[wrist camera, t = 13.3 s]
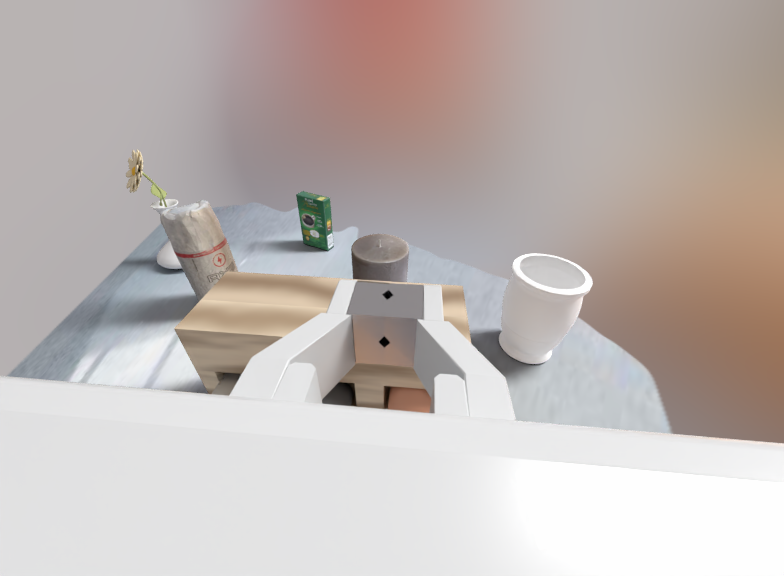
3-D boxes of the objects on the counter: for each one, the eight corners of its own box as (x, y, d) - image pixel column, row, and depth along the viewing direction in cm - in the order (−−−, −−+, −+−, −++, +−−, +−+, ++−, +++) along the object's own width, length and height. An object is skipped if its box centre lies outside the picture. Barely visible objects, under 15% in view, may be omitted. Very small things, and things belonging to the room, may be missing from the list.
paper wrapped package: (206, 323, 57) (159, 219, 45) (195, 301, 62) (151, 202, 51) (253, 305, 61) (222, 206, 50) (240, 285, 67) (209, 191, 55)
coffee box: (335, 247, 81) (330, 196, 73) (328, 251, 79) (322, 200, 71) (310, 239, 84) (302, 190, 76) (303, 244, 82) (294, 193, 74)
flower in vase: (164, 253, 77) (112, 141, 62) (216, 245, 80) (178, 137, 66) (154, 282, 67) (89, 158, 53) (213, 271, 71) (168, 152, 56)
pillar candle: (346, 304, 62) (340, 234, 53) (389, 289, 66) (390, 222, 57) (370, 335, 56) (367, 261, 47) (416, 316, 60) (421, 245, 51)
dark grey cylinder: (345, 448, 33) (341, 421, 30) (298, 444, 33) (289, 416, 30) (354, 405, 37) (351, 378, 34) (312, 402, 37) (305, 374, 34)
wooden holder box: (448, 452, 39) (472, 350, 29) (228, 431, 41) (174, 328, 30) (445, 384, 47) (462, 285, 37) (261, 369, 49) (227, 271, 38)
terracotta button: (433, 432, 34) (437, 404, 31) (387, 428, 35) (387, 400, 32) (432, 392, 38) (436, 365, 35) (391, 389, 39) (391, 361, 36)
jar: (572, 358, 52) (610, 282, 43) (523, 379, 48) (554, 301, 39) (524, 318, 59) (549, 247, 51) (479, 334, 56) (497, 260, 47)
